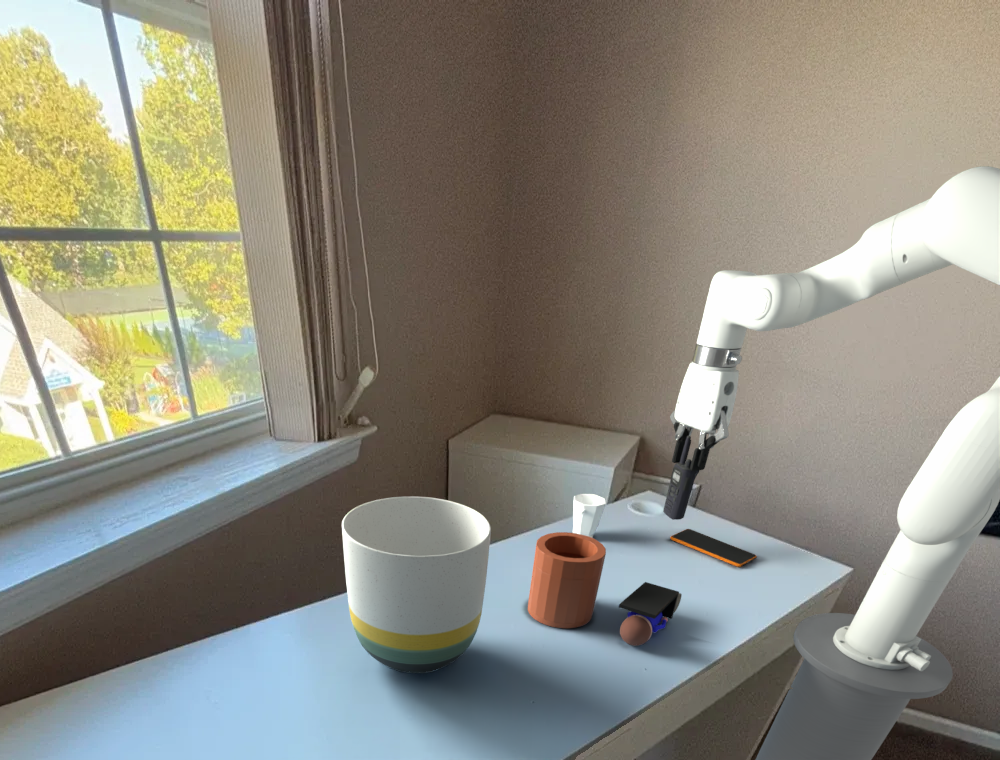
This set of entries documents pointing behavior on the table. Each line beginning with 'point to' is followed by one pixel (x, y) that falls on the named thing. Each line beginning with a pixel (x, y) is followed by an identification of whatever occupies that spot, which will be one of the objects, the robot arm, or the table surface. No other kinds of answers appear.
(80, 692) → the table surface
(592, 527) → the cup
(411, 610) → the planter
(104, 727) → the table surface
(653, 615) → the figurine character
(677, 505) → the two-way radio
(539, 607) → the jar
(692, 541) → the smartphone
